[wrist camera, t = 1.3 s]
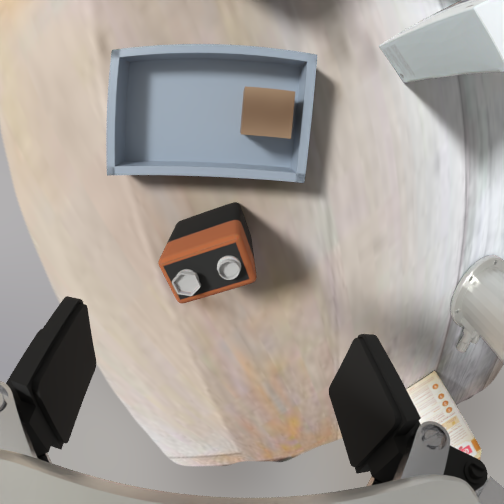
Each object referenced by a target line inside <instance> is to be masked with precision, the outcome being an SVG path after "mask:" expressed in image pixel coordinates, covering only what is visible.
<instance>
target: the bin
mask: <svg viewBox="0 0 504 504" xmlns="http://www.w3.org/2000/svg"><path fill="white" fill-rule="evenodd" d="M316 64H317V55H315V54H310V53H304V52H297V51H290V50H283V49H274V48H265V47H254V46H240V45H219V44H178V45H157V46H144V47H133V48H124V49H116V50H112V54H111V63H110V74H109V87H108V104H107V175H183V176H212V177H232V178H249V179H264V180H277V181H289V182H300V183H304V181H305V173H306V165H307V156H308V147H309V138H310V129H311V119H312V109H313V99H314V88H315V77H316ZM245 86H247V87H260V88H270V89H279V90H288V91H295V102H294V112H293V123H292V133H291V139H288V138H278V137H267V136H255V135H241V133H240V128H241V115H242V103H243V91H244V88H245Z"/></svg>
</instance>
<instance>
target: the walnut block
mask: <svg viewBox="0 0 504 504" xmlns="http://www.w3.org/2000/svg"><path fill="white" fill-rule="evenodd" d="M294 102H295V91H288V90H279V89H270V88H260V87H247V86H245V88H244V91H243V103H242V115H241V128H240V133H241V135H255V136H267V137H278V138H288V139H291V133H292V123H293V112H294Z"/></svg>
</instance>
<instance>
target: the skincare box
mask: <svg viewBox="0 0 504 504" xmlns="http://www.w3.org/2000/svg"><path fill="white" fill-rule="evenodd" d="M379 47H380V49H381V50H382V52H383V53H384V54H385V56H386V57H387V59H388V60H389V61H390V63H391V64H392V66H393V67H394V68H395V70H396V71H397V73H398V74H399V76H400V77H401V79H402V80H403V82H404V83H408V82H414V81H419V80H425V79H430V78H442V77H449V76H457V75H462V74H475V73H489V72H504V0H462V1H460V2H457V3H455V4H453V5H451V6H449V7H447V8H445V9H443V10H441V11H439V12H437V13H435V14H433V15H431V16H429V17H427V18H426V19H424V20H422V21H420V22H418V23H416V24H415V25H413V26H411V27H409V28H407V29H406V30H404V31H402V32H400V33H399V34H397V35H395V36H394V37H392V38H390V39H389V40H387V41H385V42H384V43H382V44H381V45H379Z"/></svg>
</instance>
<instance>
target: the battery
mask: <svg viewBox="0 0 504 504" xmlns="http://www.w3.org/2000/svg"><path fill="white" fill-rule="evenodd" d="M159 266H160V268H161V270H162V272H163V274H164V276H165V278H166V280H167V282H168V284H169V286H170V288H171V290H172V292H173V294H174V296H175V297H176V299H177V301H178V302H179V303H186V302H190V301H193V300H197V299H200V298H204V297H207V296H210V295H214V294H217V293H220V292H224V291H227V290H231V289H234V288H237V287H240V286H244V285H247V284H250V283H253V282H254V281H255V280H256V270H255V262H254V255H253V248H252V241H251V236H250V233H249V230H248V227H247V224H246V221H245V218H244V215H243V213H242V210H241V207H240V205H239V204H238V203H231V204H228V205H225V206H222V207H219V208H216V209H213V210H210V211H207V212H204V213H201V214H199V215H196V216H193V217H190V218H187V219H184V220H182V221H179V222H178V223H177V224H176V226H175V228H174V230H173V232H172V234H171V236H170V239H169V241H168V243H167V245H166V247H165V249H164V251H163V253H162V255H161V257H160V259H159Z"/></svg>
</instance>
